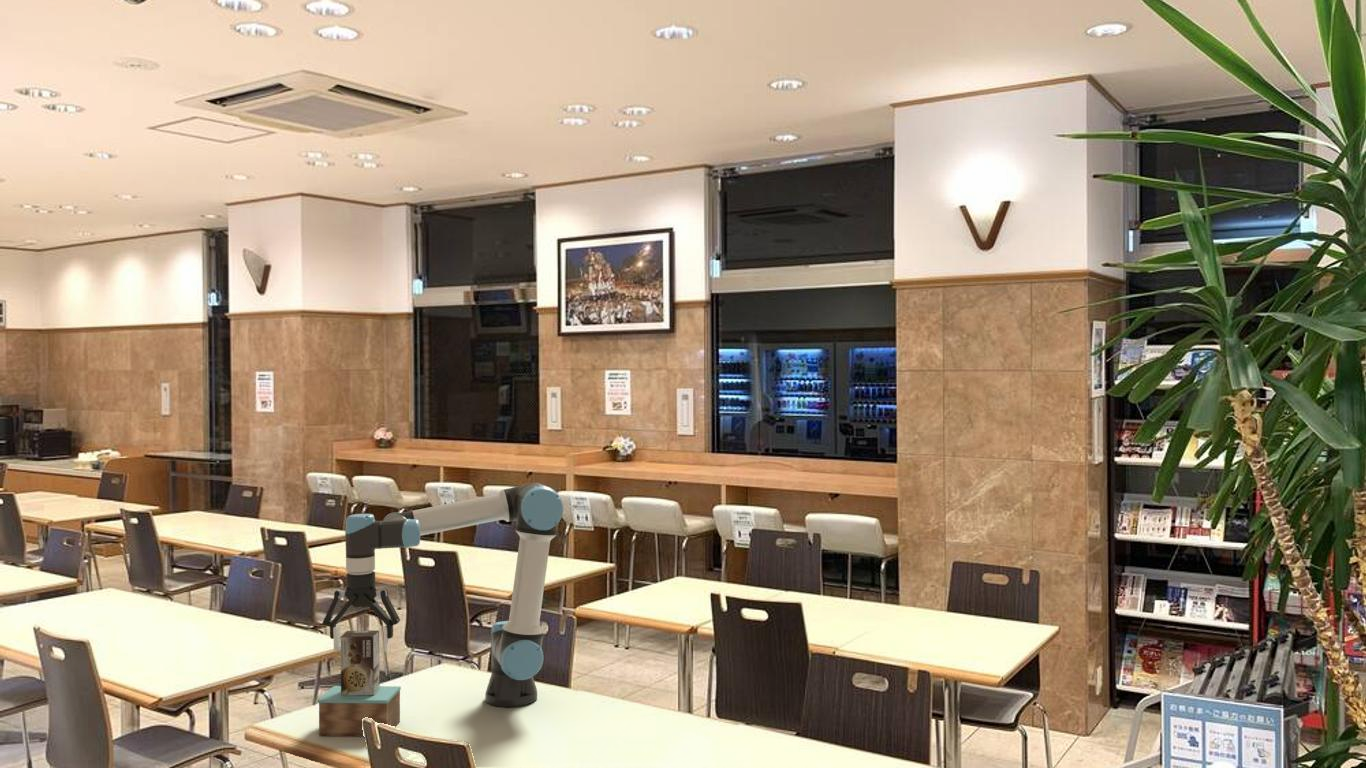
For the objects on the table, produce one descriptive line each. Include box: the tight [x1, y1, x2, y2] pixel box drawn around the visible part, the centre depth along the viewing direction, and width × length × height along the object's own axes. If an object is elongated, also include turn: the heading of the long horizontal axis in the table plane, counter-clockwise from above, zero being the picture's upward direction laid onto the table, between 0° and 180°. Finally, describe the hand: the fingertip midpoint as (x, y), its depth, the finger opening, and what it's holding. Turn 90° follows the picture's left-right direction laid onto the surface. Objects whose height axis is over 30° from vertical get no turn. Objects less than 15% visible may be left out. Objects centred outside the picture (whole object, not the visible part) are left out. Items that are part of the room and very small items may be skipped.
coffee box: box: [340, 629, 381, 696], centre depth 283 cm, size 9×6×16 cm
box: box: [318, 690, 401, 738], centre depth 283 cm, size 18×12×9 cm, turn 89°
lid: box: [317, 685, 401, 704], centre depth 283 cm, size 18×12×1 cm
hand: (361, 650), depth 283 cm, fingers open, 13 cm apart
